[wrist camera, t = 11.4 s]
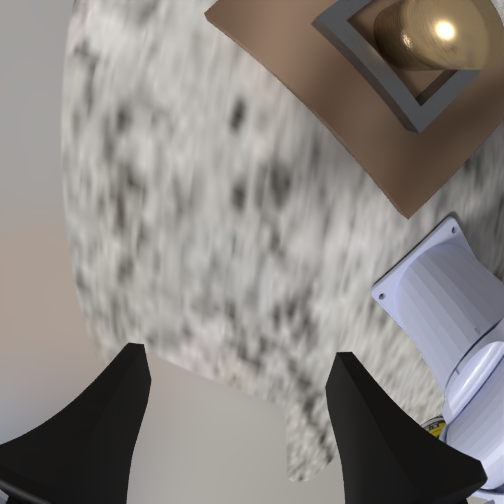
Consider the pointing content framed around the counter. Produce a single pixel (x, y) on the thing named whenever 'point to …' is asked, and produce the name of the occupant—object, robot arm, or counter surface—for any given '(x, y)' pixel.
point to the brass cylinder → (440, 35)
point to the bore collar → (389, 70)
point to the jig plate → (364, 95)
